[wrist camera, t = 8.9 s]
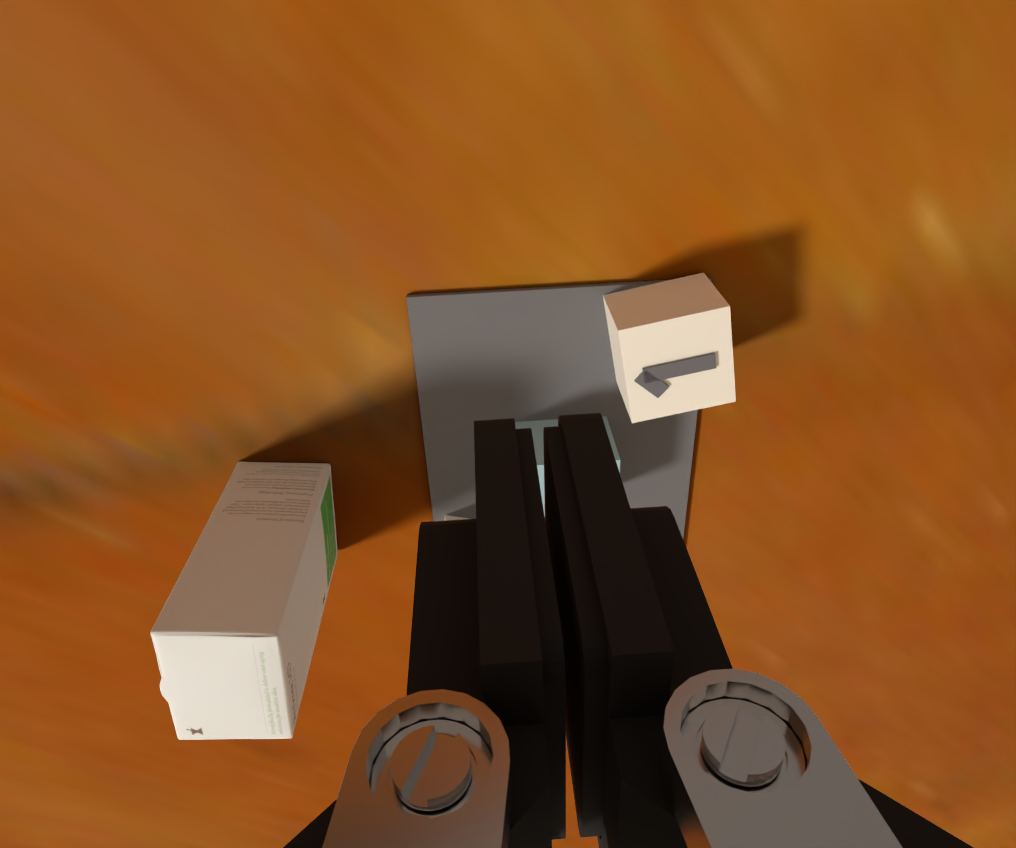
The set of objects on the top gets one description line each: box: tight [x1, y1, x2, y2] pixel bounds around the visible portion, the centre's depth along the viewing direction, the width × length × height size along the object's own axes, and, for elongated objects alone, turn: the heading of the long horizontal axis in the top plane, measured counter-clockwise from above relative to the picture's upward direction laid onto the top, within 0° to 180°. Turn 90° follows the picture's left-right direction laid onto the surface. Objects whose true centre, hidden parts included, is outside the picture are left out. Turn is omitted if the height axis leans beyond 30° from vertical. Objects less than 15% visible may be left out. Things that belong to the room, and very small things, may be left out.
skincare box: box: [151, 462, 338, 740], centre depth 44 cm, size 8×7×16 cm
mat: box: [406, 277, 712, 538], centre depth 50 cm, size 18×24×1 cm
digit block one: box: [603, 273, 736, 423], centre depth 43 cm, size 6×6×5 cm
